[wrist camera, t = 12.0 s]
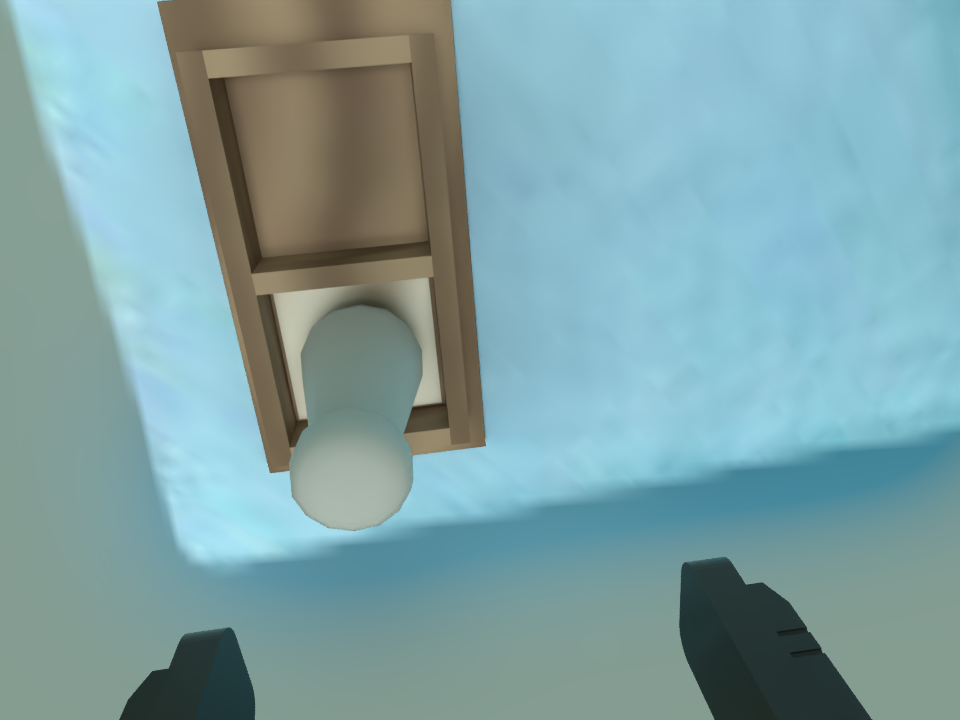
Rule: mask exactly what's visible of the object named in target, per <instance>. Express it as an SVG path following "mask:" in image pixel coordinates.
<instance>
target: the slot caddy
mask: <svg viewBox="0 0 960 720" xmlns="http://www.w3.org/2000/svg"><path fill="white" fill-rule="evenodd" d="M157 4H158V8H159V12H160V16H161V20H162V24H163V29H164V33H165V37H166V41H167V45H168V49H169V54H170V58H171V62H172V66H173V70H174V75H175V79H176V83H177V87H178V91H179V95H180V100H181V104H182V108H183V112H184V116H185V120H186V125H187V129H188V133H189V137H190V141H191V145H192V150H193V154H194V158H195V162H196V166H197V171H198V175H199V179H200V183H201V187H202V191H203V196H204V200H205V204H206V208H207V212H208V216H209V221H210V225H211V229H212V233H213V237H214V241H215V246H216V250H217V254H218V258H219V262H220V267H221V271H222V275H223V279H224V283H225V287H226V292H227V296H228V300H229V304H230V308H231V312H232V317H233V321H234V325H235V329H236V333H237V337H238V342H239V346H240V350H241V354H242V358H243V363H244V367H245V371H246V375H247V379H248V383H249V388H250V392H251V396H252V400H253V404H254V408H255V413H256V417H257V421H258V425H259V429H260V434H261V438H262V442H263V446H264V450H265V454H266V459H267V463H268V467H269V471H270V473H276V472H284V471H290V467H289V462H290V459H291V456H292V454H293V451H294V449H295V447H296V444H297V442H298V440H299V438H300V435H301V433H302V431H303V430H304V429H306V428H307V427H308V419H307V412H306V404H305V396H304V388H303V380H302V368H301V355H300V353H301V351H302V348H303V346H304V344H305V341H306V339H307V337H308V334H309V332H310V330H311V329H312V327H313V326H314V325H316V324H317V323H318V322H319V321H321V320H322V319H323V318H325V317H326V316H327V315H328V314H330V313H331V312H332V311H333V310H337V309H341V308H345V307H350V306H354V305H358V304H362V305H368V306H373V307H378V308H383V309H387V310H389V311H390V312H391V313H393V314H394V315H396V316H397V317H399V318H400V319H401V320H403V321H404V322H406V323H407V324H408V325H409V326H410V328H411V330H412V332H413V334H414V336H415V338H416V340H417V341H418V343H419V345H420V347H421V349H422V365H423V376H422V379H421V382H420V385H419V388H418V391H417V394H416V397H415V400H414V403H413V406H412V410H411V413H410V416H409V419H408V422H407V425H406V428H405V431H404V434H403V435H404V437H405V439H406V440H407V442H408V444H409V446H410V447H411V452H412V455H419V454H427V453H435V452H443V451H450V450H458V449H466V448H474V447H482V446H486V443H485V431H484V418H483V406H482V393H481V380H480V368H479V355H478V342H477V330H476V317H475V305H474V292H473V279H472V267H471V254H470V241H469V229H468V216H467V204H466V191H465V178H464V166H463V153H462V141H461V128H460V115H459V103H458V90H457V77H456V65H455V52H454V40H453V27H452V14H451V2H450V0H173V1H158V2H157Z"/></svg>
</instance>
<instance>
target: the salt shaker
mask: <svg viewBox="0 0 960 720" xmlns="http://www.w3.org/2000/svg"><path fill="white" fill-rule="evenodd" d="M300 355H301V368H302V380H303V388H304V396H305V404H306V412H307V419H308V427H307V428H306V429H304V430H303V431H302V433H301V435H300V438H299V440H298V442H297V444H296V447H295V449H294V451H293V454H292V456H291V459H290V462H289V467H290V480H291V491H292V497H293V498H294V500H295V501H296V502H297V504H298V505H299V507H300V508H301V509H302V511H303V512H304V513H305V515H306V516H308V517H310V518H311V519H313V520H315V521H317V522H318V523H320V524H322V525H324V526H326V527H327V528H333V529H341V530H350V531H356V530H361V529H365V528H369V527H374V526H378V525H380V524H382V523H383V522H384V521H386V520H387V519H389V518H390V517H391V516H393V515H394V514H395V513H397V512H398V511H399V510H400V508H401V507H402V505H403V503H404V501H405V499H406V498H407V496H408V494H409V492H410V490H411V487H412V483H413V463H412V452H411V447H410V446H409V444H408V442H407V440H406V439H405V437H404V435H403V434H404V431H405V428H406V425H407V422H408V419H409V416H410V413H411V410H412V406H413V403H414V400H415V397H416V394H417V391H418V388H419V385H420V382H421V379H422V376H423V365H422V349H421V347H420V345H419V343H418V341H417V340H416V338H415V336H414V334H413V332H412V330H411V328H410V326H409V325H408V324H407V323H406V322H404V321H403V320H401V319H400V318H399V317H397V316H396V315H394V314H393V313H391V312H390V311H389V310H387V309H383V308H378V307H373V306H368V305H362V304H358V305H354V306H350V307H345V308H341V309H337V310H333V311H332V312H331V313H330V314H328V315H327V316H326V317H325V318H323V319H322V320H321V321H319V322H318V323H317V324H316V325H314V326H313V327H312V329H311V330H310V332H309V334H308V337H307V339H306V341H305V344H304V346H303V348H302V351H301V353H300Z"/></svg>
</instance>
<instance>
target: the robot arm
mask: <svg viewBox="0 0 960 720" xmlns="http://www.w3.org/2000/svg"><path fill="white" fill-rule="evenodd" d="M679 622H680V623H679V628H680V636H681V641H682V646H683V649H684V653H685V656H686V659H687V661H688V664H689V666H690V668H691V670H692V672H693V674H694V676H695V679H696V681H697V683H698V685H699V687H700V689H701V691H702V694H703V696H704V698H705V700H706V702H707V704H708V706H709V709H710V711H711V713H712V715H713V717H714V719H715V720H872V719H871V718H870V716H869V715H868V713H867V712H866V711H865V709H864V708H863V706H862V705H861V704H860V702H859V701H858V699H857V698H856V696H855V695H854V694H853V692H852V691H851V689H850V688H849V686H848V685H847V684H846V682H845V681H844V679H843V678H842V677H841V675H840V674H839V672H838V671H837V669H836V668H835V667H834V666H833V664H832V662H831V661H830V660H829V658H828V657H827V655H826V654H825V653H822V650H821V647H820V645H819V644H818V643H817V641H816V640H815V638H814V637H813V636H812V634H811V633H810V632H808V631H807V627H806V626H805V624H804V623H803V621H802V620H801V619H800V617H799V616H798V614H797V613H796V612H795V610H794V609H793V607H792V606H791V604H790V603H789V602H788V601H787V600H785V599H784V598H782V597H781V596H780V595H779V594H777V593H776V592H775V591H773V590H772V589H770V588H769V587H768V586H766V585H765V584H764V583H755V584H748V585H746V584H745V583H744V581H743V580H742V578H741V576H740V575H739V573H738V572H737V570H736V569H735V567H734V566H733V564H732V563H731V562H730V561H729V559H728V558H726V557H720V558H713V559H706V560H699V561H692V562H685V563H684V564H683V565H682V569H681V593H680V620H679ZM119 720H255V697H254V691H253V686H252V683H251V680H250V678H249V674H248V671H247V668H246V666H245V663H244V659H243V656H242V653H241V650H240V648H239V644H238V641H237V638H236V635H235V633H234V631H233V630H232V629H231V628H222V629H215V630H208V631H201V632H194V633H188V634H185V635H184V636H183V637H182V638H181V640H180V642H179V644H178V647H177V649H176V652H175V654H174V657H173V659H172V662H171V665H170V667H169V669H163V670H157V671H152V672H151V673H150V675H149V676H148V677H147V678H146V679H145V680H144V682H143V683H142V684H141V685H140V686H139V687H138V689H137V690H136V691H135V692H134V693H133V695H132V696H131V697H130V698H129V699H128V701H127V704H126V706H125V708H124V710H123V713H122V715H121V717H120V719H119Z"/></svg>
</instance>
